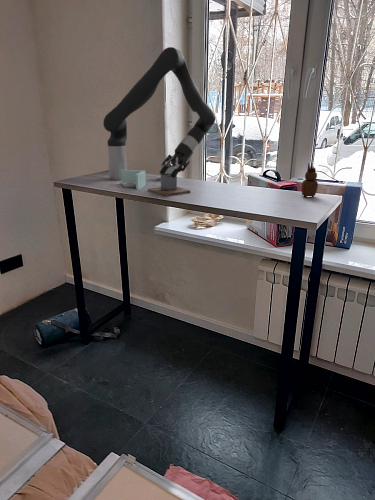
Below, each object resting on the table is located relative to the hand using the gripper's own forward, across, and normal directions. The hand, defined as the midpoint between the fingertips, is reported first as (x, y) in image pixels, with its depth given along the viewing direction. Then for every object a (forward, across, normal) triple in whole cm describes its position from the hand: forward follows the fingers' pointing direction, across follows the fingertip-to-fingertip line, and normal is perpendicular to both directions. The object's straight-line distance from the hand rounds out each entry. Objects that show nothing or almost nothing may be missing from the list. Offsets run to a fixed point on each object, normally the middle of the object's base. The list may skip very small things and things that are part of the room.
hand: (166, 175), depth 167 cm
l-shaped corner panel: (+11, -21, +1) cm, 24 cm away
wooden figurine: (-27, +44, +38) cm, 64 cm away
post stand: (+4, 0, +6) cm, 8 cm away
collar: (+4, 0, +6) cm, 7 cm away
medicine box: (-9, -26, +20) cm, 34 cm away
